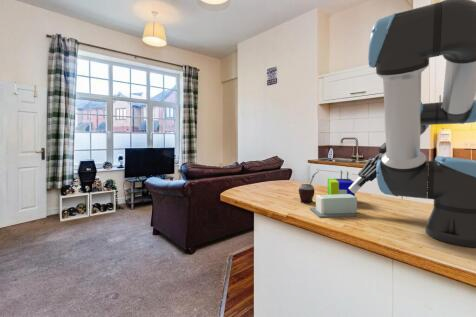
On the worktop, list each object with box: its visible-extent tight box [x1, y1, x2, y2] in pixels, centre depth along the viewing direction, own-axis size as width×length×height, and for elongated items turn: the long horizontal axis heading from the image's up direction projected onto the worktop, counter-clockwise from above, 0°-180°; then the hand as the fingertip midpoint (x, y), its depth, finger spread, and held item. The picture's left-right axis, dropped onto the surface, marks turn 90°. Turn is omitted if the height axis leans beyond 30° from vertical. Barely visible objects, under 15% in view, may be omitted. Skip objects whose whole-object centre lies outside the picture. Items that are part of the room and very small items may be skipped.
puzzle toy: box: [327, 178, 356, 197], centre depth 117 cm, size 10×10×10 cm
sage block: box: [315, 194, 358, 214], centre depth 101 cm, size 6×6×14 cm
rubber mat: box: [309, 207, 357, 219], centre depth 101 cm, size 14×11×1 cm
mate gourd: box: [298, 170, 320, 204], centre depth 118 cm, size 8×8×15 cm
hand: (351, 190), depth 101 cm, fingers closed
